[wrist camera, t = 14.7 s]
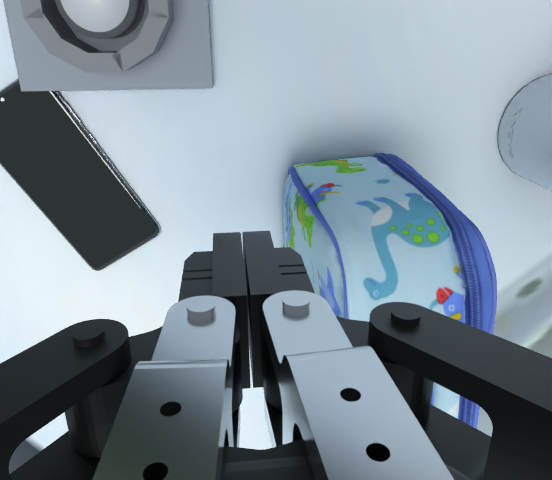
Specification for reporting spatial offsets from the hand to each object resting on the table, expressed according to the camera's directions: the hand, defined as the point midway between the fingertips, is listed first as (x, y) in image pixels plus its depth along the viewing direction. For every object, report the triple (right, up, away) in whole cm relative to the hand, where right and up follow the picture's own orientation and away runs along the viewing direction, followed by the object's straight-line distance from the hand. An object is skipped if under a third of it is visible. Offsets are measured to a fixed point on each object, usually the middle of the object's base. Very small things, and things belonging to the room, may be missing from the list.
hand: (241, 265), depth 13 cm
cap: (-11, +18, +21) cm, 30 cm away
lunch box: (+7, -3, +34) cm, 35 cm away
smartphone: (-16, +6, +28) cm, 33 cm away
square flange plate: (-11, +18, +23) cm, 31 cm away
